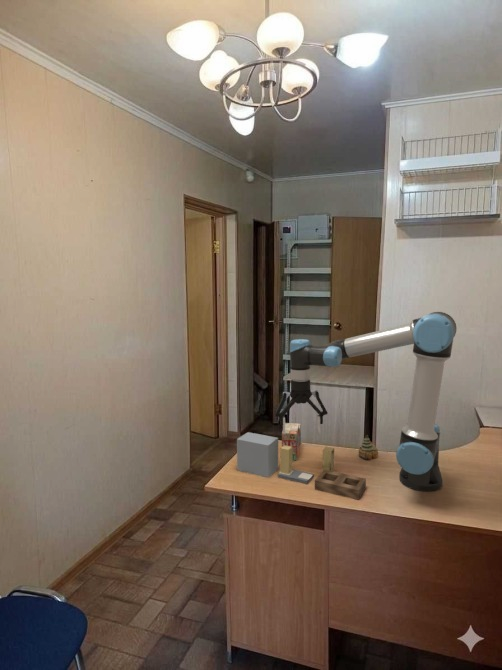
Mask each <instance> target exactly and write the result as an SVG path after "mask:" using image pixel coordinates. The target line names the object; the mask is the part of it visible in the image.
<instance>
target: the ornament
mask: <svg viewBox="0 0 502 670" xmlns="http://www.w3.org/2000/svg"><path fill="white" fill-rule="evenodd" d="M357 453H358V456H359V457H360V458H361V459H363V460H366V461H367V460H369V461H370V460H372V459H376V458H377V457H378V456H379V450H378V448H377V446H376V445H375V442H373V441H371V440H370V438H369V435H368V434H367V435H365V436H364V438H363V440H362V443H361V445H359V448H358V452H357Z"/></svg>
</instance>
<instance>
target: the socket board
mask: <svg viewBox="0 0 502 670" xmlns="http://www.w3.org/2000/svg"><path fill="white" fill-rule="evenodd" d="M366 481H367V479H366V478H365V477H360V476H355V475H352V474H351V475H350V474H345V473H342V472H337V471H334V472H333V471H328V470H323V469H322V471H321V473H320V474H319V475H318V476H317V477H316V478H315V480H314V490H315V491H320V492H324V493H328V494H332V495H335V496H341V497H345V498H349V499H353V500H358V501H359V499H360V498H361V496H362V495H363V493H364V491H365V490H366V487H367V486H366V485H367V482H366Z"/></svg>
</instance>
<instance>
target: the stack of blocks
mask: <svg viewBox="0 0 502 670" xmlns="http://www.w3.org/2000/svg"><path fill="white" fill-rule="evenodd" d="M301 425H302V424H301V423H296V422H294V423H292V422H285V434H283V430H282V432H281V447H283V446H284V445H286V446H291V447H292V462H294V461H297V459H298V457H299V453H300V452H299V450H300V447H301V444H302V443H301V442H302V440H301V439H302V430H301Z"/></svg>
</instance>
